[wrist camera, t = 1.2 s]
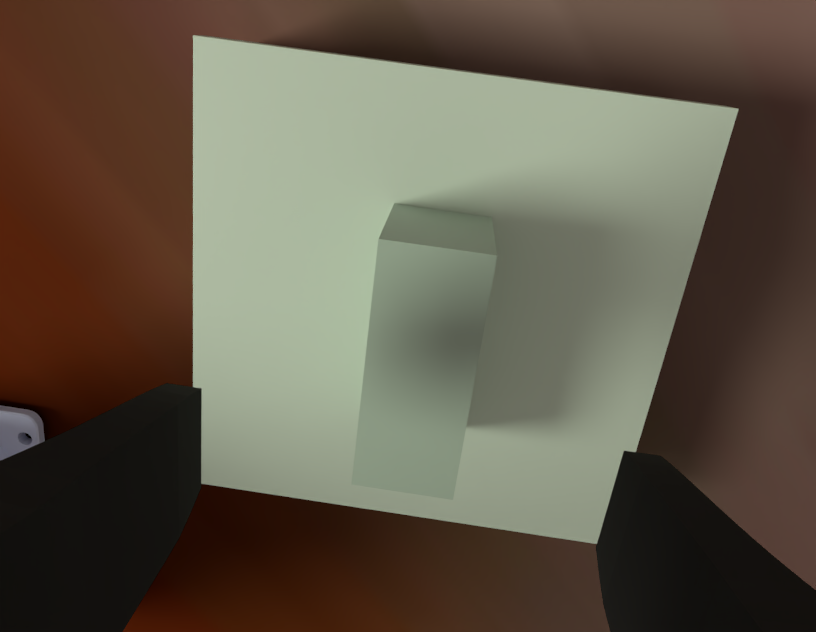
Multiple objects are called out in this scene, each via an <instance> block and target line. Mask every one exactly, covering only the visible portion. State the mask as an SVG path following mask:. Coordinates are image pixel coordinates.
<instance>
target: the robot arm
mask: <svg viewBox="0 0 816 632" xmlns="http://www.w3.org/2000/svg"><path fill="white" fill-rule="evenodd" d="M201 409H202V388H195V387H188V386H181V385H175V384H168V383H166V384H164V385H161V386H159V387H156V388H154V389H152V390H150V391H148V392H145V393H143V394H141V395H139V396H137V397H135V398H133V399H131V400H129V401H127V402H125V403H123V404H121V405H119V406H117V407H115V408H113V409H111V410H109V411H107V412H105V413H103V414H101V415H99V416H97V417H95V418H93V419H91V420H89V421H87V422H85V423H83V424H81V425H79V426H77V427H75V428H73V429H71V430H68V431H66V432H64V433H62V434H60V435H57V436H55V437H53V438H51V439H48V440H46V441H45V438H44V428H43V422H42V419H41V418H40V416H39V415H38V414H37V413H35V412H34V411H31V410H28V409H21V408H14V407H8V406H1V405H0V632H123V630H124V628H125V627H126V625H127V623H128V622H129V620H130V618H131V617H132V615H133V614H134V612H135V610H136V609H137V607H138V605H139V604H140V602H141V601H142V599H143V597H144V596H145V594H146V592H147V591H148V589H149V587H150V586H151V584H152V583H153V581H154V579H155V578H156V576H157V574H158V573H159V571H160V569H161V568H162V566H163V564H164V563H165V561H166V559H167V558H168V556H169V554H170V553H171V551H172V549H173V548H174V546H175V544H176V543H177V541H178V539H179V537H180V535H181V533H182V531H183V528H184V526H185V524H186V522H187V520H188V517H189V515H190V513H191V511H192V508H193V506H194V503H195V501H196V499H197V496H198V494H199V492H200V489H201ZM25 433H27V434H29V435H30V436H31V438H32V439H30V438H28V437H27V436H26V435H25ZM596 551H597V560H598V568H599V577H600V584H601V591H602V598H603V604H604V608H605V612H606V616H607V620H608V624H609V628H610V631H611V632H816V590H815V589H813V588H812V587H811V586H809V585H808V584H807V583H806V582H804V581H803V580H802V579H801V578H799V577H798V576H797V575H796V574H795V573H793V572H792V571H791V570H790V569H788V568H787V567H786V566H785V565H784V564H782V563H781V562H780V561H779V560H777V559H776V558H775V557H774V556H773V555H771V554H770V553H769V552H768V551H767V550H766V549H764V548H763V547H762V546H761V545H760V544H759V543H757V542H756V541H755V540H754V539H753V538H752V537H751V536H749V535H748V534H747V533H746V532H745V531H744V530H743V529H742V528H740V527H739V526H738V525H737V524H736V523H735V522H734V521H733V520H732V519H730V518H729V517H728V516H727V515H726V514H725V513H724V512H723V511H722V510H721V509H719V508H718V507H717V506H716V505H715V504H714V503H713V502H712V501H711V500H710V499H709V498H708V497H706V496H705V495H704V494H703V493H702V492H701V491H700V490H699V489H698V488H697V487H696V486H695V485H694V484H692V483H691V482H690V481H689V480H688V479H687V478H686V477H685V476H684V475H683V474H681V473H680V472H679V471H678V470H677V469H676V468H675V467H674V466H672V465H671V464H670V463H669V462H668V461H666V460H665V459H664V458H663V457H661V456H657V455H651V454H644V453H637V452H630V451H624V452H623V455H622V459H621V462H620V466H619V469H618V473H617V476H616V480H615V483H614V487H613V490H612V494H611V497H610V500H609V504H608V507H607V511H606V514H605V518H604V521H603V525H602V528H601V532H600V535H599V539H598V542H597V545H596Z"/></svg>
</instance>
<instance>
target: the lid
mask: <svg viewBox="0 0 816 632" xmlns="http://www.w3.org/2000/svg"><path fill="white" fill-rule="evenodd" d="M738 110H739V109H737V108H733V107H729V106H724V105H717V104H710V103H702V102H695V101H687V100H680V99H672V98H665V97H658V96H650V95H643V94H635V93H628V92H620V91H613V90H606V89H598V88H591V87H583V86H576V85H569V84H561V83H554V82H546V81H539V80H531V79H524V78H517V77H509V76H502V75H494V74H487V73H480V72H472V71H465V70H457V69H450V68H442V67H435V66H428V65H420V64H413V63H405V62H398V61H390V60H383V59H376V58H368V57H361V56H353V55H346V54H339V53H331V52H324V51H316V50H309V49H301V48H294V47H287V46H279V45H272V44H264V43H257V42H249V41H242V40H235V39H227V38H220V37H212V36H201V35H193V387H195V388H202V409H201V484H207V485H213V486H220V487H227V488H233V489H240V490H246V491H253V492H259V493H266V494H272V495H279V496H286V497H292V498H299V499H305V500H312V501H318V502H325V503H331V504H338V505H344V506H351V507H358V508H364V509H371V510H377V511H384V512H390V513H397V514H403V515H410V516H416V517H423V518H430V519H436V520H443V521H449V522H456V523H462V524H469V525H475V526H482V527H489V528H495V529H502V530H508V531H515V532H521V533H528V534H534V535H541V536H547V537H554V538H561V539H567V540H574V541H580V542H587V543H593V544H597V542H598V539H599V535H600V532H601V528H602V525H603V521H604V518H605V514H606V511H607V507H608V504H609V500H610V497H611V494H612V490H613V487H614V483H615V480H616V476H617V473H618V469H619V466H620V462H621V459H622V455H623V452H624V451H630V452H636V450H637V446H638V443H639V440H640V436H641V433H642V430H643V426H644V423H645V420H646V416H647V413H648V410H649V406H650V403H651V400H652V396H653V393H654V390H655V386H656V383H657V380H658V376H659V373H660V370H661V366H662V363H663V360H664V356H665V353H666V350H667V346H668V343H669V340H670V336H671V333H672V330H673V326H674V323H675V320H676V316H677V313H678V310H679V306H680V303H681V300H682V296H683V293H684V290H685V286H686V283H687V280H688V276H689V273H690V270H691V266H692V263H693V260H694V256H695V253H696V250H697V246H698V243H699V240H700V236H701V233H702V230H703V226H704V223H705V220H706V216H707V213H708V210H709V206H710V203H711V200H712V196H713V193H714V190H715V186H716V183H717V180H718V176H719V173H720V170H721V166H722V163H723V160H724V156H725V153H726V150H727V146H728V143H729V140H730V136H731V133H732V130H733V126H734V123H735V120H736V116H737V113H738Z"/></svg>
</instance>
